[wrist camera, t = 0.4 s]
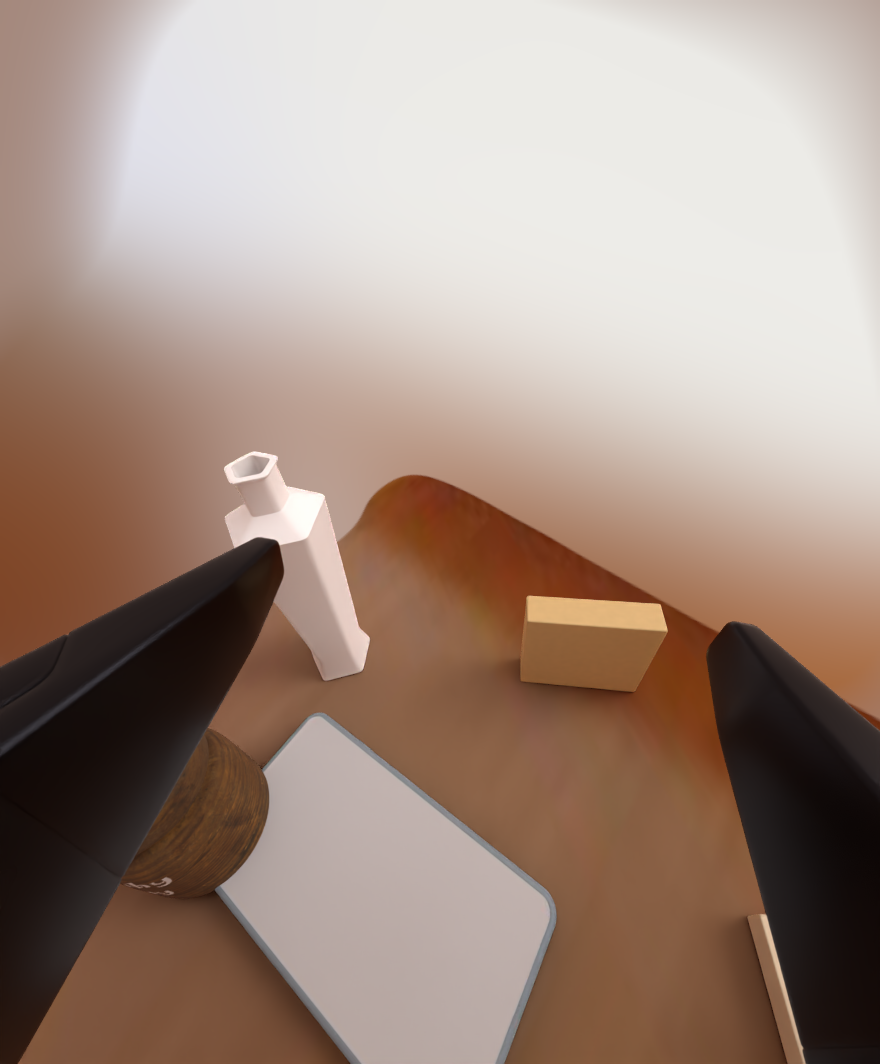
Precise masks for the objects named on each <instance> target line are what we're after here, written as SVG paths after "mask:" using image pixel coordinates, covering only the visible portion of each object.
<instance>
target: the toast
mask: <svg viewBox="0 0 880 1064" xmlns="http://www.w3.org/2000/svg"><path fill="white" fill-rule="evenodd" d="M667 632H668V630H667V627H666V623H665V619H664V616H663V612H662V608H661V605H660V604H650V603H634V602H618V601H602V600H586V599H571V598H555V597H539V596H527V600H526V610H525V619H524V629H523V639H522V649H521V661H520V680H521V681H523V682H533V683H544V684H554V685H565V686H575V687H586V688H597V689H607V690H618V691H628V692H635V690H636V689H637V687H638V685H639V683H640V681H641V679H642V678H643V676H644V674H645V672H646V670H647V668H648V667H649V665H650V663H651V661H652V659H653V657H654V656H655V654H656V652H657V650H658V648H659V646H660V645H661V643H662V641H663V639H664V637H665V636H666V634H667Z"/></svg>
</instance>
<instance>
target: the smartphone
mask: <svg viewBox="0 0 880 1064" xmlns="http://www.w3.org/2000/svg"><path fill="white" fill-rule="evenodd" d="M262 771H263V773H264V775H265V777H266V780H267V783H268V788H269V810H268V816H267V820H266V824H265V827H264V830H263V832H262V835H261V837H260V839H259V841H258V843H257V845H256V847H255V848H254V850H253V852H252V853H251V855H250V856H249V858H248V859H247V860H246V861H245V863H244V864H243V865H242V866H241V867H240V869H239V870H238V871H237V872H236V873H235V874H234V875H233V876H231V877H230V878H229V879H228V880H227V881H226V882H224V883H223V884H221V885H220V886H218V887H217V888H216V889H215V891H216V893H217V894H218V895H219V897H220V898H221V899H222V900H223V902H224V903H225V904H226V906H227V907H228V908H229V909H230V911H231V912H232V913H233V914H234V916H235V917H236V918H237V920H238V921H239V922H240V923H241V925H242V926H243V927H244V928H245V930H246V931H247V932H248V934H249V935H250V936H251V937H252V939H253V940H254V941H255V943H256V944H257V945H258V946H259V948H260V949H261V950H262V952H263V953H264V954H265V955H266V957H267V958H268V959H269V960H270V962H271V963H272V964H273V966H274V967H275V968H276V969H277V970H278V971H279V973H280V974H281V975H282V977H283V978H284V979H285V980H286V982H287V983H288V984H289V986H290V987H291V988H292V989H293V991H294V992H295V993H296V994H297V996H298V997H299V998H300V1000H301V1001H302V1002H303V1003H304V1005H305V1006H306V1007H307V1009H308V1010H309V1011H310V1012H311V1014H312V1015H313V1016H314V1017H315V1019H316V1020H317V1021H318V1023H319V1024H320V1025H321V1026H322V1028H323V1029H324V1030H325V1031H326V1033H327V1034H328V1035H329V1037H330V1038H331V1039H332V1040H333V1042H334V1043H335V1044H336V1046H337V1047H338V1048H339V1049H340V1051H341V1052H342V1053H343V1054H344V1056H345V1057H346V1058H347V1060H348V1061H349V1062H350V1063H351V1064H504V1063H505V1060H506V1057H507V1055H508V1052H509V1049H510V1047H511V1044H512V1041H513V1039H514V1036H515V1033H516V1031H517V1028H518V1025H519V1022H520V1020H521V1017H522V1014H523V1012H524V1009H525V1006H526V1004H527V1001H528V998H529V995H530V993H531V990H532V987H533V985H534V982H535V979H536V977H537V974H538V971H539V968H540V966H541V963H542V960H543V958H544V955H545V952H546V950H547V947H548V944H549V941H550V939H551V936H552V933H553V931H554V928H555V925H556V907H555V904H554V901H553V899H552V897H551V895H550V894H549V892H548V891H547V890H546V889H545V888H544V887H543V886H541V885H540V884H539V883H538V882H536V881H535V880H534V879H533V878H531V877H530V876H529V875H528V874H526V873H525V872H524V871H523V870H521V869H520V868H519V867H517V866H516V865H515V864H514V863H512V862H511V861H510V860H509V859H507V858H506V857H505V856H504V855H502V854H501V853H500V852H499V851H497V850H496V849H495V848H494V847H492V846H491V845H490V844H489V843H487V842H486V841H485V840H484V839H482V838H481V837H480V836H479V835H477V834H476V833H475V832H474V831H472V830H471V829H470V828H469V827H467V826H466V825H465V824H463V823H462V822H461V821H460V820H458V819H457V818H456V817H455V816H453V815H452V814H451V813H450V812H448V811H447V810H446V809H445V808H443V807H442V806H441V805H440V804H438V803H437V802H436V801H435V800H433V799H432V798H431V797H430V796H428V795H427V794H426V793H425V792H423V791H422V790H421V789H420V788H418V787H417V786H416V785H415V784H413V783H412V782H411V781H410V780H408V779H407V778H406V777H404V776H403V775H402V774H401V773H399V772H398V771H397V770H396V769H394V768H393V767H392V766H391V765H389V764H388V763H387V762H386V761H384V760H383V759H382V758H381V757H379V756H378V755H377V754H376V753H374V752H373V751H372V750H371V749H370V748H369V747H367V746H366V745H365V744H364V743H362V742H361V741H360V740H358V739H357V738H356V737H354V736H353V735H352V734H351V733H349V732H348V731H347V730H345V729H344V728H343V727H342V726H340V725H339V724H338V723H337V722H335V721H334V720H333V719H332V718H330V717H329V716H328V715H326V714H324V713H315V714H312V715H310V716H309V717H307V718H306V719H305V721H304V722H303V723H302V724H301V725H300V726H299V727H298V729H297V730H296V731H295V732H294V733H293V734H292V735H291V737H290V738H289V739H288V740H287V741H286V742H285V744H284V745H283V746H282V747H281V748H280V749H279V750H278V752H277V753H276V754H275V755H274V756H273V757H272V758H271V760H270V761H269V762H268V763H267V764H266V765H265V767H264V768H263V769H262Z"/></svg>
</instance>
